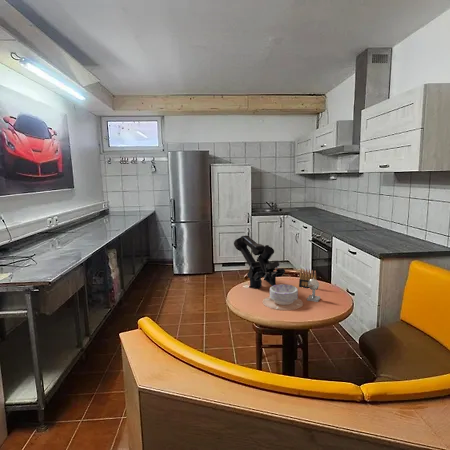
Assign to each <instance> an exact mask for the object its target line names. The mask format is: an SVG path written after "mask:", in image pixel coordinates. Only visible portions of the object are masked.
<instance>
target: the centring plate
mask: <svg viewBox="0 0 450 450" xmlns="http://www.w3.org/2000/svg"><path fill="white" fill-rule="evenodd" d="M262 304H263V305H264V306H265V307H267V308H270V309H271V310H276V311H293V310H298V309H301V308H302V307H303V306H304V302H303V300H302V299H301V298H299V297H298V298H297V299H296V300H295V301H294V302H293V303H292V304H289V305H279V304H277V303H275V302H274V300H272V299H271V298H270V295H269V296H267V297H264V298H263V300H262Z"/></svg>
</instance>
